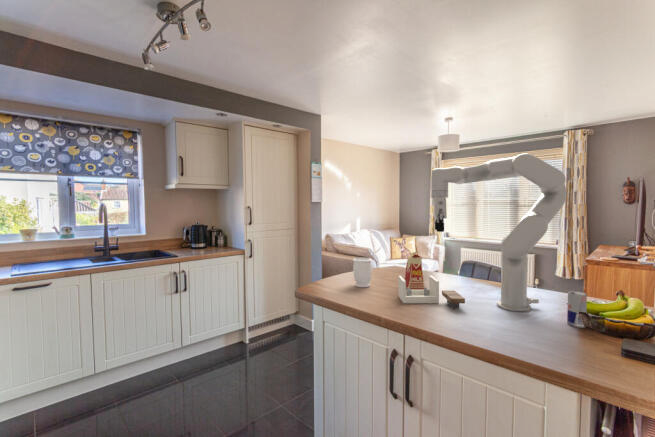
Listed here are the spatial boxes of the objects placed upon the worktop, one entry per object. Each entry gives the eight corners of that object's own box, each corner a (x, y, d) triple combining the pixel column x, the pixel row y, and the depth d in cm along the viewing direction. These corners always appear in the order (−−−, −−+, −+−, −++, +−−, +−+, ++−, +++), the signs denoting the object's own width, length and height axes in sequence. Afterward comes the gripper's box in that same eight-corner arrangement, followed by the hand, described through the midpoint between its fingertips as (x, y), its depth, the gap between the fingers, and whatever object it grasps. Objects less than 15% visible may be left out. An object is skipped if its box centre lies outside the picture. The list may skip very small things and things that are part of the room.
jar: (350, 284, 175) (350, 257, 174) (367, 282, 178) (366, 256, 177) (357, 289, 165) (357, 261, 164) (375, 287, 168) (375, 259, 167)
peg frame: (431, 295, 151) (431, 275, 150) (438, 303, 140) (438, 281, 139) (398, 295, 151) (398, 275, 151) (403, 303, 140) (403, 281, 140)
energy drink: (567, 321, 116) (568, 289, 116) (585, 324, 113) (586, 292, 112) (566, 325, 112) (567, 293, 112) (586, 329, 109) (586, 295, 108)
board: (441, 294, 142) (441, 290, 142) (454, 294, 142) (454, 290, 142) (451, 303, 130) (451, 298, 130) (464, 303, 130) (465, 298, 130)
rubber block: (452, 302, 140) (452, 296, 140) (459, 308, 132) (459, 301, 132) (447, 302, 140) (447, 296, 140) (453, 308, 132) (453, 301, 132)
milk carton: (425, 290, 160) (425, 252, 159) (407, 290, 160) (407, 252, 159) (420, 286, 169) (420, 249, 168) (403, 286, 169) (403, 249, 168)
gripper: (450, 194, 137) (450, 232, 138) (445, 195, 154) (445, 229, 155) (432, 194, 139) (432, 232, 140) (430, 195, 156) (429, 229, 156)
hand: (439, 230), depth 147 cm, fingers open, 9 cm apart
